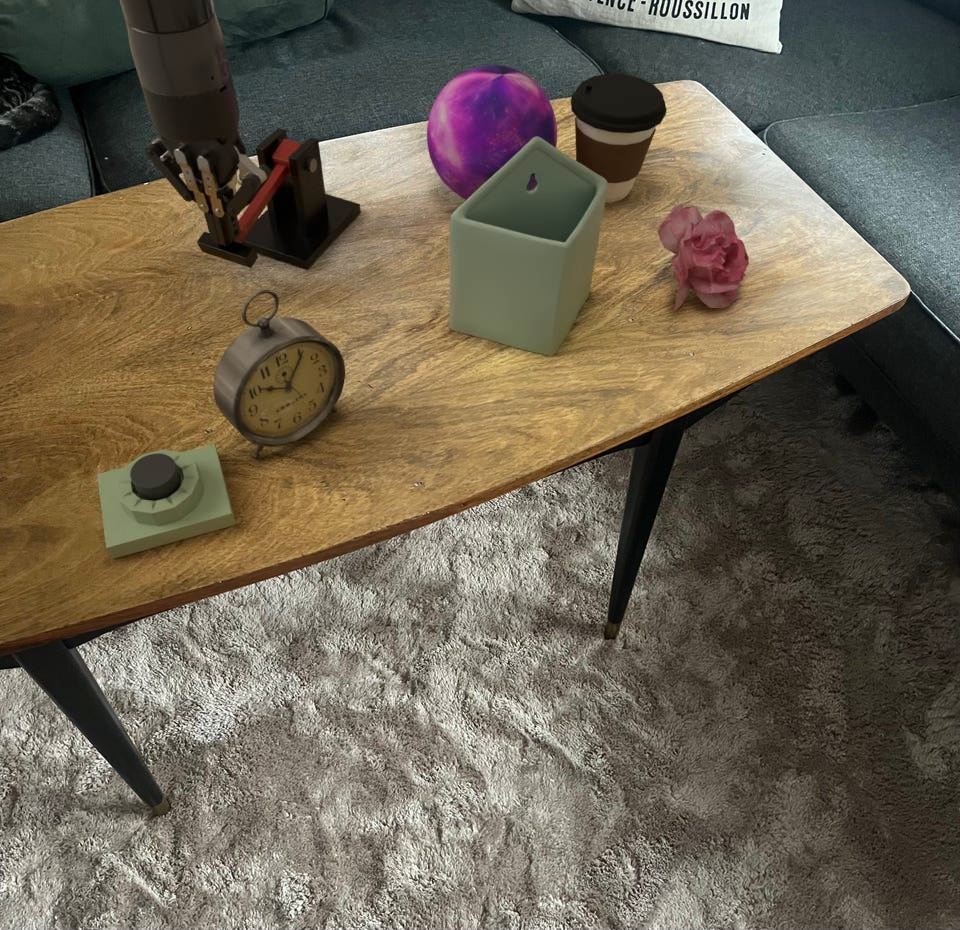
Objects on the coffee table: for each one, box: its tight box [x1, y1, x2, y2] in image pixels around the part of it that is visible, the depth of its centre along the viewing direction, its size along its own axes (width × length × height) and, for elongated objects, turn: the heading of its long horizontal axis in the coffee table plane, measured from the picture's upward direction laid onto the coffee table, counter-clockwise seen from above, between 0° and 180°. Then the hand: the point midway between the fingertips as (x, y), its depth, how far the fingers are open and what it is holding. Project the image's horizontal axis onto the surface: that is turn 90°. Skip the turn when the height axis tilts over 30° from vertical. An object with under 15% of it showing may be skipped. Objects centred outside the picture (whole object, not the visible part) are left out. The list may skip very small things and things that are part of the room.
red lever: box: [196, 138, 303, 269], centre depth 87 cm, size 15×6×2 cm, turn 156°
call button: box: [130, 453, 181, 501], centre depth 68 cm, size 4×4×2 cm
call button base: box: [96, 443, 237, 560], centre depth 70 cm, size 10×8×4 cm
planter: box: [448, 137, 608, 357], centre depth 78 cm, size 16×8×20 cm, turn 113°
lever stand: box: [241, 127, 361, 271], centre depth 92 cm, size 12×9×11 cm
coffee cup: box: [570, 73, 668, 203], centre depth 98 cm, size 11×11×12 cm
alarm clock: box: [212, 288, 346, 460], centre depth 71 cm, size 11×5×16 cm, turn 131°
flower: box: [650, 203, 750, 312], centre depth 89 cm, size 11×10×10 cm
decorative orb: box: [426, 64, 558, 200], centre depth 96 cm, size 15×15×15 cm
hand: (227, 240), depth 84 cm, fingers closed
